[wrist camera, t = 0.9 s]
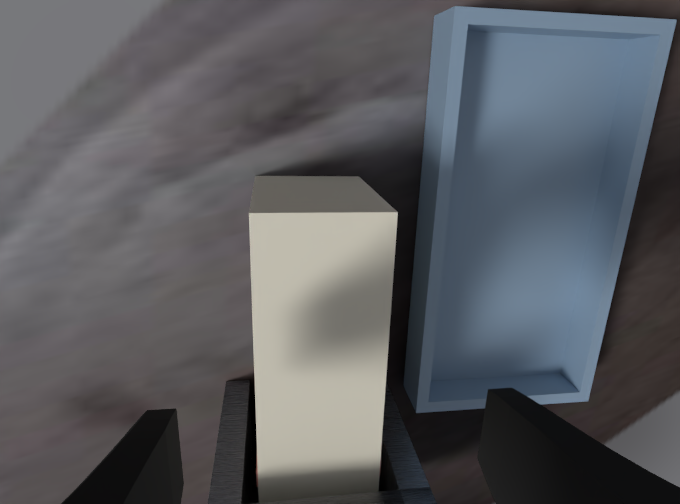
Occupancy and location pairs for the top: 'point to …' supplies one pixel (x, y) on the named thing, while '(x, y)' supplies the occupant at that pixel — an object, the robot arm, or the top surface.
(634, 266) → the top surface
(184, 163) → the top surface
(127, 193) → the top surface
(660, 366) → the top surface
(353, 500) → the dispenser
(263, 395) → the block
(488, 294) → the tray
